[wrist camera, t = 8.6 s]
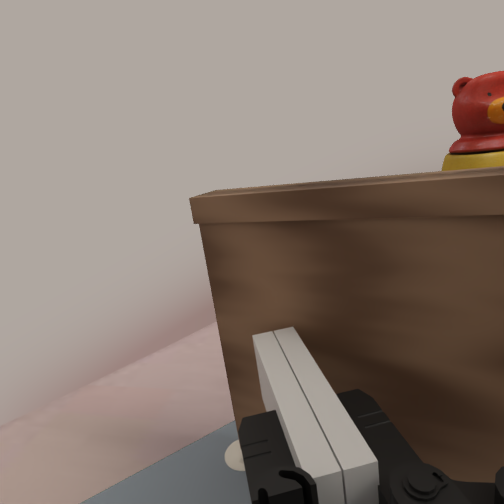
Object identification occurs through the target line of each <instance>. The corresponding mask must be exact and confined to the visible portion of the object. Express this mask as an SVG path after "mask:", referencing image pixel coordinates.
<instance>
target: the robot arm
mask: <svg viewBox="0 0 504 504" xmlns="http://www.w3.org/2000/svg"><path fill="white" fill-rule="evenodd" d="M252 337H253V343H254V349H255V355H256V362H257V368H258V374H259V380H260V387H261V393H262V399H263V402H264V405H265V408H266V411H267V412H264V413H260V414H256V415H252V416H248V417H243V418H242V421H241V424H240V427H239V430H238V434H239V439H240V445H241V450H242V455H243V461H244V466H245V472H246V477H247V482H248V487H249V492H250V498H251V503H252V504H504V466H503V467H501V468H500V469H499V470H498V471H497V473H496V474H495V483H488V482H464V481H456V480H453V479H450V478H449V477H448V476H447V475H446V474H445V473H444V472H443V471H441V470H440V469H438V468H436V467H434V466H432V465H430V464H426V463H423V462H422V461H421V459H420V458H419V457H418V455H417V454H416V453H415V451H414V450H413V449H412V448H411V446H410V445H409V444H408V442H407V441H406V440H405V439H404V437H403V436H402V435H401V433H400V432H399V431H398V430H397V428H396V427H395V426H394V424H393V423H392V422H390V419H389V418H388V417H387V415H386V414H385V413H384V412H383V411H382V409H381V408H380V406H379V405H378V404H377V402H376V401H375V400H374V399H373V397H371V396H370V395H368V394H366V393H365V392H363V391H361V390H360V389H354V390H350V391H346V392H342V393H338V394H335V392H334V391H333V389H332V387H331V386H330V384H329V383H328V381H327V380H326V378H325V376H324V375H323V373H322V372H321V370H320V368H319V367H318V365H317V364H316V362H315V360H314V359H313V357H312V356H311V354H310V353H309V351H308V349H307V348H306V346H305V345H304V343H303V341H302V340H301V338H300V337H299V335H298V334H297V332H296V330H295V329H294V327H289V328H284V329H279V330H275V331H274V334H273V332H272V331H270V332H265V333H261V334H256V335H252Z"/></svg>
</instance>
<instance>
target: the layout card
mask: <svg viewBox="0 0 504 504" xmlns="http://www.w3.org/2000/svg"><path fill="white" fill-rule="evenodd" d="M80 504H252V503H251V498H250V492H249V487H248V482H247V477H246V472H245V466H244V461H243V455H242V450H241V449H240V443H239V438H238V432H237V427H236V422H235V421H233V422H231V423H229V424H227V425H225V426H223V427H221V428H220V429H218V430H216V431H214V432H212V433H210V434H208V435H207V436H205V437H203V438H201V439H199V440H197V441H195V442H194V443H192V444H190V445H188V446H186V447H184V448H182V449H180V450H179V451H177V452H175V453H173V454H171V455H169V456H167V457H166V458H164V459H162V460H160V461H158V462H156V463H154V464H153V465H151V466H149V467H147V468H145V469H143V470H141V471H139V472H138V473H136V474H134V475H132V476H130V477H128V478H126V479H125V480H123V481H121V482H119V483H117V484H115V485H113V486H112V487H110V488H108V489H106V490H104V491H102V492H100V493H98V494H97V495H95V496H93V497H91V498H89V499H87V500H85V501H84V502H82V503H80Z"/></svg>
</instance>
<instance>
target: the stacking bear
mask: <svg viewBox="0 0 504 504" xmlns="http://www.w3.org/2000/svg"><path fill="white" fill-rule="evenodd" d="M452 92H453V95H454V96H455V99H454V102H453V106H452V116H453V121H454V124H455V127H456V129H457V130H458V132H459V133H460V134H461V138H460V139H459V140H457V141H455V142H454V143H453V144H452V146H451V147H450V149H449V152H450V153H449V154H447V155H446V156H445V159H444V162H443V167H442V171H450V170H462V169H474V168H486V167H498V166H504V71H498V72H493V73H488V74H484V75H481V76H478V77H476V78H474V79H472V78H468V77H463V78H460V79H459V80H457V81H456V82H455V83H454V85H453V88H452Z"/></svg>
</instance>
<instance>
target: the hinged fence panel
mask: <svg viewBox="0 0 504 504" xmlns="http://www.w3.org/2000/svg"><path fill="white" fill-rule="evenodd" d="M189 200H190V205H191V210H192V216H193V221H194V224H199V226H200V232H201V237H202V242H203V248H204V253H205V259H206V264H207V269H208V275H209V280H210V286H211V291H212V297H213V302H214V308H215V313H216V319H217V324H218V329H219V335H220V340H221V346H222V351H223V357H224V362H225V367H226V373H227V378H228V384H229V389H230V394H231V400H232V405H233V411H234V416H235V422H236V427H237V432H238V430H239V427H240V424H241V421H242V418H243V417H248V416H252V415H256V414H260V413H264V412H267V411H266V408H265V405H264V402H263V399H262V393H261V387H260V380H259V374H258V368H257V362H256V355H255V349H254V343H253V337H252V335H256V334H261V333H265V332H270V331H272V332H273V334H274V331H275V330H279V329H284V328H289V327H294V329H295V330H296V332H297V334H298V335H299V337H300V338H301V340H302V341H303V343H304V345H305V346H306V348H307V349H308V351H309V353H310V354H311V356H312V357H313V359H314V360H315V362H316V364H317V365H318V367H319V368H320V370H321V372H322V373H323V375H324V376H325V378H326V380H327V381H328V383H329V384H330V386H331V387H332V389H333V391H334V392H335V394H338V393H342V392H346V391H350V390H354V389H360V390H361V391H363V392H365V393H366V394H368V395H370V396H371V397H373V399H374V400H375V401H376V402H377V404H378V405H379V406H380V408H381V409H382V411H383V412H384V413H385V414H386V415H387V417H388V418H389V419H390V422H392V423H393V424H394V426H395V427H396V428H397V430H398V431H399V432H400V433H401V435H402V436H403V437H404V439H405V440H406V441H407V442H408V444H409V445H410V446H411V448H412V449H413V450H414V451H415V453H416V454H417V455H418V457H419V458H420V459H421V461H422V462H423V463H426V464H430V465H432V466H434V467H436V468H438V469H440V470H441V471H443V472H444V473H445V474H446V475H447V476H448V477H449V478H450V479H453V480H456V481H464V482H488V483H495V474H496V473H497V471H498V470H499V469H500V468H501V467H503V466H504V166H498V167H486V168H474V169H462V170H450V171H438V172H426V173H415V174H403V175H391V176H380V177H367V178H355V179H343V180H332V181H319V182H308V183H296V184H283V185H272V186H260V187H248V188H237V189H224V190H215V191H212V192H208V193H205V194H202V195H198V196H195V197H191V198H189ZM238 438H239V434H238ZM239 443H240V439H239ZM240 449H241V445H240Z"/></svg>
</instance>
